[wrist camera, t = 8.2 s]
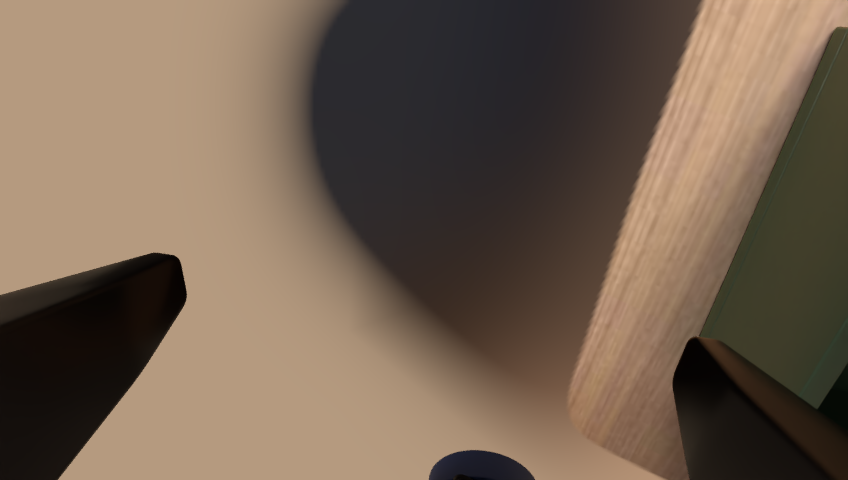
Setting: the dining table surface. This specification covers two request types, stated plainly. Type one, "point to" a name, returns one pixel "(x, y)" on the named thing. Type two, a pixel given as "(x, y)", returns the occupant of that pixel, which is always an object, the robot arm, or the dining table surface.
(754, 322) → the tea tin
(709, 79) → the dining table surface
